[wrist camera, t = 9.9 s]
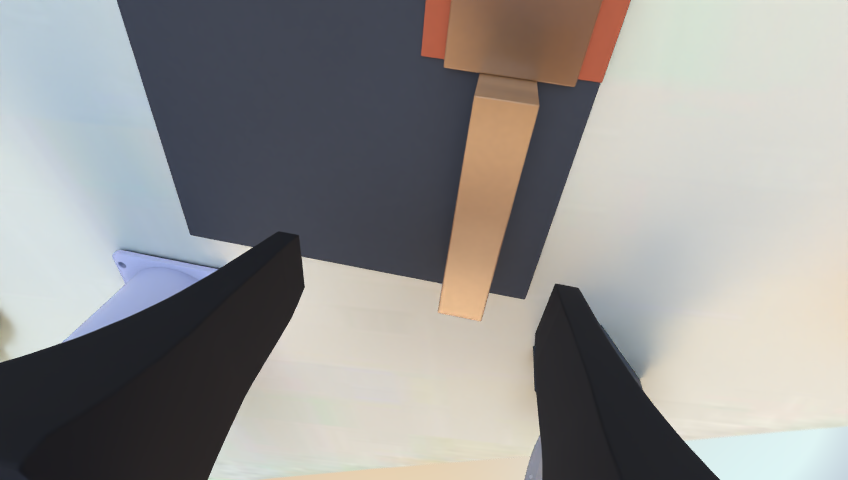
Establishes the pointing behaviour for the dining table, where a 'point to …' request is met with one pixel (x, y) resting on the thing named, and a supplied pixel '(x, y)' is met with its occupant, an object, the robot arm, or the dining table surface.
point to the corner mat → (343, 127)
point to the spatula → (502, 121)
